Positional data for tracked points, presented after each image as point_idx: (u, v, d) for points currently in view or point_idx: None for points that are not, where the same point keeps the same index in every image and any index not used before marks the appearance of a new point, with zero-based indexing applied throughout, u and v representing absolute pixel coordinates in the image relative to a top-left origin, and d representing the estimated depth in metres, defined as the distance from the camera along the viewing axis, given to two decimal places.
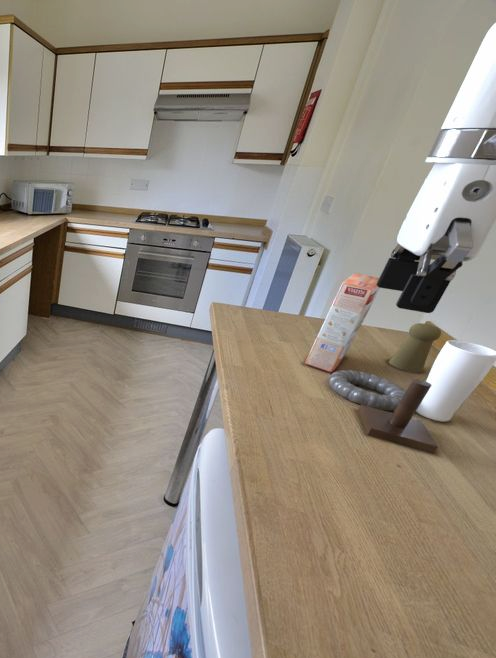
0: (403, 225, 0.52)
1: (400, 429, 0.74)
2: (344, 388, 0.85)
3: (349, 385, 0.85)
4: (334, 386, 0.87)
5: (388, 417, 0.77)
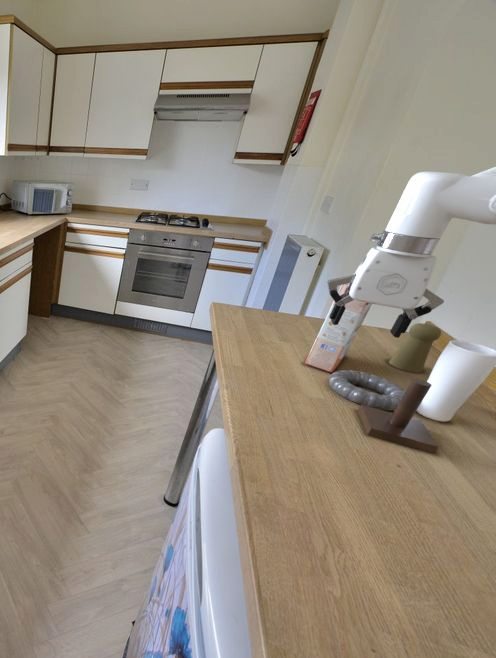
0: None
1: (400, 429, 0.74)
2: (344, 388, 0.85)
3: (349, 385, 0.85)
4: (334, 386, 0.87)
5: (388, 417, 0.77)
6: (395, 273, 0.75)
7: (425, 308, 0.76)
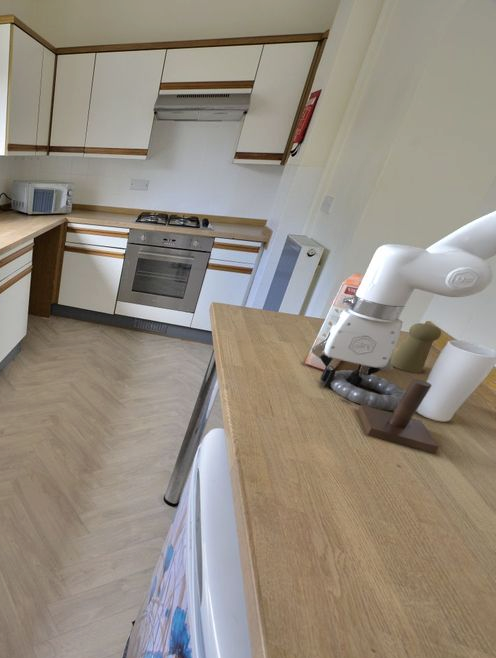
0: None
1: (400, 429, 0.74)
2: (344, 388, 0.85)
3: (349, 385, 0.85)
4: (334, 386, 0.87)
5: (388, 417, 0.77)
6: (365, 335, 0.81)
7: (373, 368, 0.84)
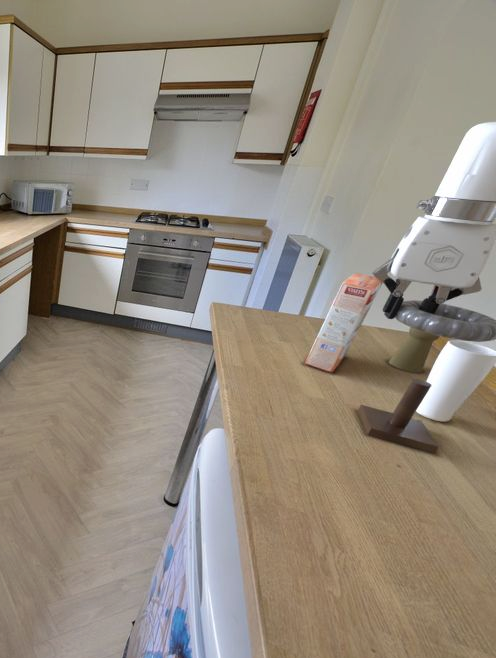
0: None
1: (400, 429, 0.74)
2: (416, 316, 0.68)
3: (423, 312, 0.67)
4: (402, 316, 0.70)
5: (388, 417, 0.77)
6: (448, 246, 0.64)
7: (455, 290, 0.67)
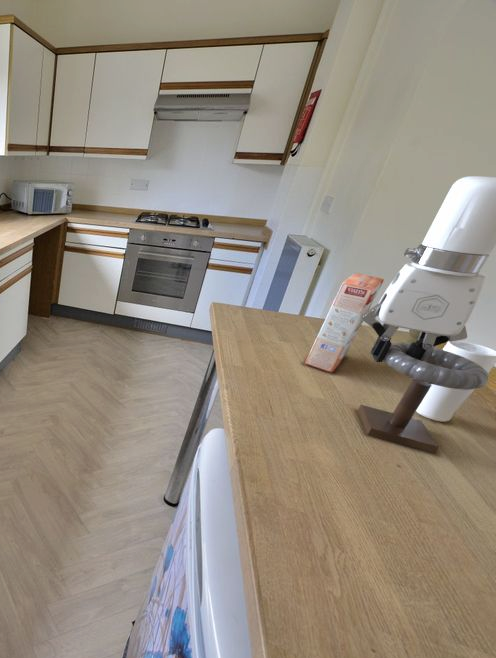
0: None
1: (400, 429, 0.74)
2: (403, 362, 0.68)
3: (410, 358, 0.68)
4: (390, 360, 0.70)
5: (388, 417, 0.77)
6: (435, 295, 0.65)
7: (441, 337, 0.67)
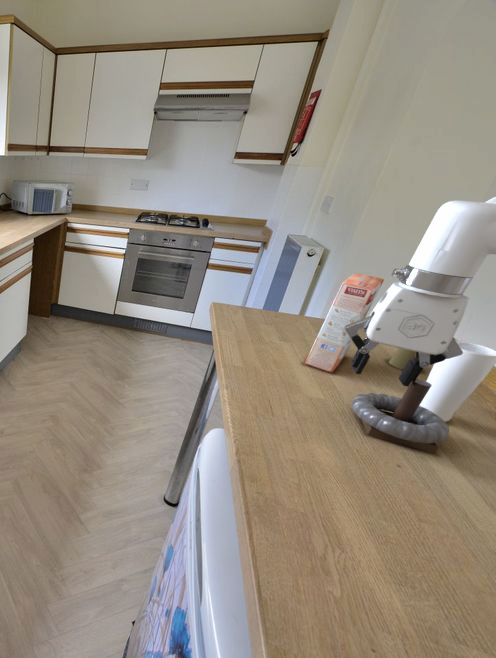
0: None
1: None
2: (371, 415, 0.73)
3: (377, 412, 0.73)
4: (359, 413, 0.75)
5: None
6: (420, 314, 0.66)
7: (438, 356, 0.68)
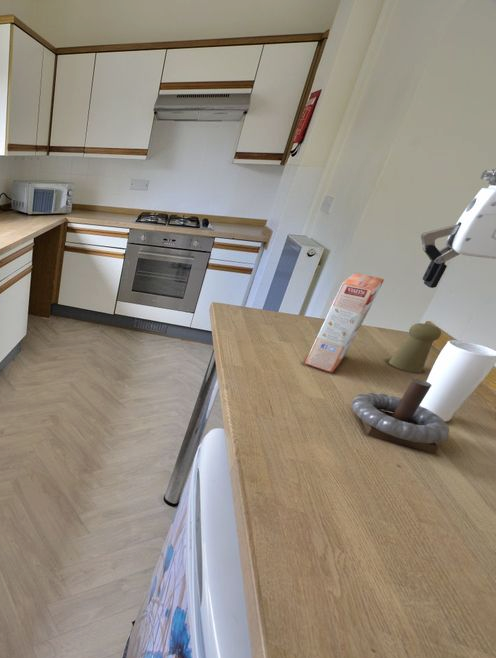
0: None
1: None
2: (371, 415, 0.73)
3: (377, 412, 0.73)
4: (359, 413, 0.75)
5: None
6: None
7: None
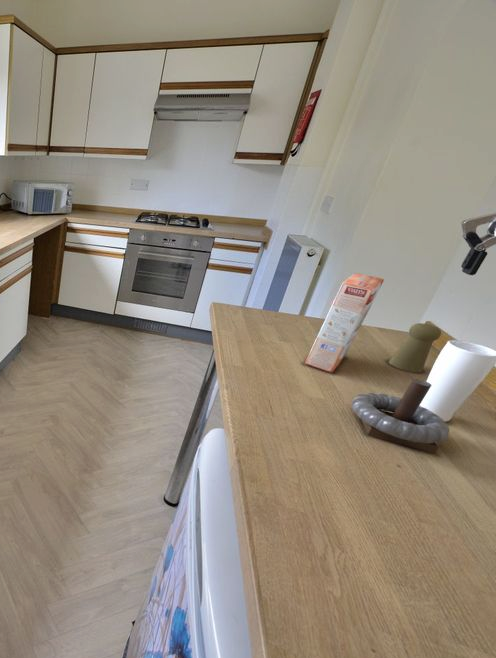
0: None
1: None
2: (371, 415, 0.73)
3: (377, 412, 0.73)
4: (359, 413, 0.75)
5: None
6: None
7: None
